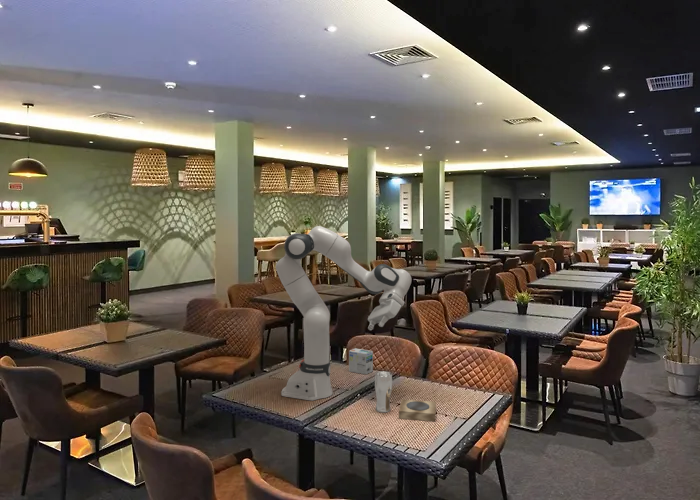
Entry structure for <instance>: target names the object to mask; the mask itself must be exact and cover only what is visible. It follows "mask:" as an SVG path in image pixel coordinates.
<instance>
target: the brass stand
mask: <svg viewBox="0 0 700 500" xmlns="http://www.w3.org/2000/svg"><path fill="white" fill-rule="evenodd" d="M436 406H437V402H436V401H431V400H430V401H429V400H428V401H427V400H415V399H404V398H403V399H402V398H401V400H400V405H399V409H398V419H401V420H413V421H424V422H436V411H437V410H436V409H437V408H436Z"/></svg>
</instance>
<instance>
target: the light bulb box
mask: <svg viewBox="0 0 700 500" xmlns="http://www.w3.org/2000/svg"><path fill="white" fill-rule="evenodd" d="M373 363H374V351H373V350H368V349H362V348H356V347H355V348H352V349H350V350H349V351H348V372H350V373H351V372H352V373H357V374H360V373H361V375H365V374H367V375H369V374H371V373H372V372H374V364H373ZM368 373H369V374H368Z"/></svg>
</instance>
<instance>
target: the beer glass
mask: <svg viewBox="0 0 700 500" xmlns="http://www.w3.org/2000/svg"><path fill="white" fill-rule="evenodd" d="M374 390H375V397H376V405H375V412H378V413H382V414H383V413H385V414H386V413H389V412H391V410H392V409H391V401H390V400H391V395H392V390H393V373H391V372H390V371H383V370H382V371H381V370H380V371H376V372H375V378H374Z"/></svg>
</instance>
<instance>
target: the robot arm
mask: <svg viewBox="0 0 700 500" xmlns="http://www.w3.org/2000/svg"><path fill="white" fill-rule="evenodd" d="M283 244H284V245H283V246H284V252H285V254H284V256H283V257H281V258H280V259H279V260H278V261H276V264H275V270H276V273H277V275H278V278H279V280H280V282H281V284H282V286H283V288H284V289H285V291H286V293H287V295H288V296H289V298H290V300H291V302H292V303H293V304H294V305H295V306H296V308H297V309H298V310H299V312H300V313H301V315H302V316H303V321H302V322H303V343H304V344H303V347H304V349H303V350H304V351H303V352H304V354H303V359H301V361H300V363H299V364H298V368H299V370H297V371H296V372H295V373H293V374H292V375H291V376H290V377H289V378H288V379H287V382H286V386H285V387H283V388H282V389H281V392H280V393H281V394H280V395H281V396H282V397H287V398H290V399H291V398H293V399H298V400H305V401H310V402H312V401H316V400H319V399H326V398H328V397H331V396H332V395H333V389H332V384H331V377H330V375H331V368H332V367H331V361H330V320H331V319H330V318H331V314H330V313H331V312H330V310H329V308H328V307H327V305H326V303H325V301H324V300H323V299H322V298H321V296H320V294H319V292H318V291H317V290H316V289H315V287H314V285H313V284H312V282H311V280H310V279H309V277H308V274H307V273H306V271H305V270H304V268H303V267H302V263H301V261H302V259H304V258H305V257H306V256H307V255H309V253H310V252H312V251H315V252H317V253H320V254H321V255H323V256H325V257H326V258H327V259H329V260H330V261H332V262H333V263H334V264H336V265H337V266H338V267H339V268H340V269H341V270H343V271H344V272H345V273H346V274H348V275H349V276H351V277H352V278H353V279H355V280H356V281H357V282H359V283H360V285H361V286H362V287H363V288H364V290H366V292H367V293H369V294H371V295H379V294H380V293H382V292H383V293H382V295H381V296H380V297H379V300H378V302H379V305H377V306H375V307H374V309H373V310H372V311H371V313H370V314H369V315H368V317H367V321H368V322H369V325H368V327H367V329H368V330H369V331H372V330H374V329H375V325H376V324H377V325H378V326H379V327H380V328H383V327H384V326H385V324H386V323H387V322H388V321H389V320H390V319H394V318H395V317H396V316H397V314H398V313H399V312H400V310H401V308H402V307H403V306H404V305H405V300H403V298H404V297H405V296H406V295H407V293H408V291H409V289H410V286H411V284H412V280H413V279H412V276H411V274H410V272H408V271H407V270H405V269H403V268H395V267H394V268H393V267H391V266H389V265H388V264H385V263H381V264H378V265H376V266H375V267H374V268H373V269H372V270H371V271H370V270H367V269H365V268H364V267H363V266H362V265H360V264H359V263H357V262H356V261H355V260H354V258H353V255H352V247H351V244H350V242H349V241H348V240H347V239H346V238H344V237H343V236H341V235H339V234H338V233H336V232H335V231H333V230H331V229H330V228H326V227H325V226H321V225H316V226H314V227H312V228H311V229H310V230H309V232H308V233H307V234H305V233H300V232H295V233H292V234H290V235H289V236H287V237H286V239H285V241H284V243H283Z"/></svg>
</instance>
